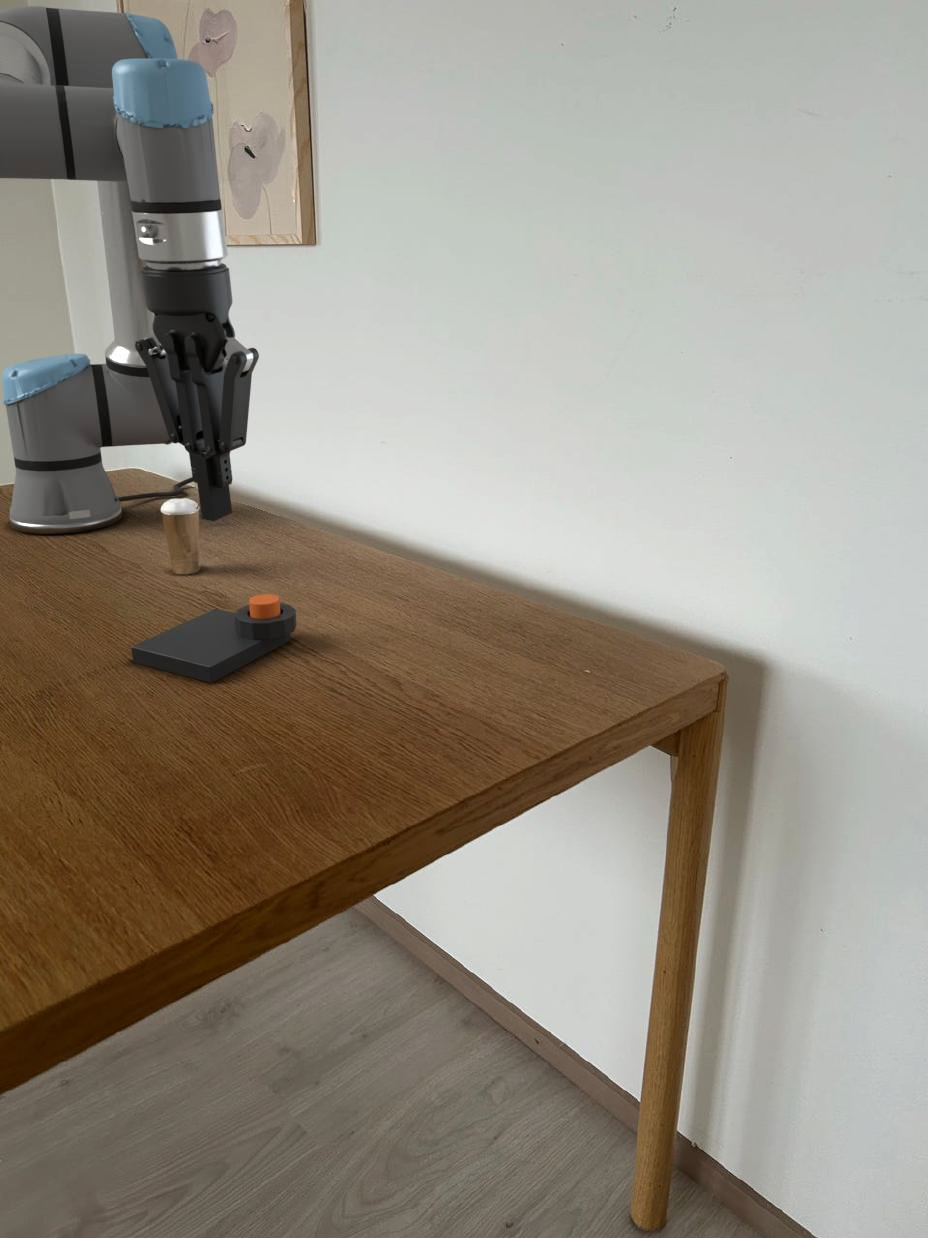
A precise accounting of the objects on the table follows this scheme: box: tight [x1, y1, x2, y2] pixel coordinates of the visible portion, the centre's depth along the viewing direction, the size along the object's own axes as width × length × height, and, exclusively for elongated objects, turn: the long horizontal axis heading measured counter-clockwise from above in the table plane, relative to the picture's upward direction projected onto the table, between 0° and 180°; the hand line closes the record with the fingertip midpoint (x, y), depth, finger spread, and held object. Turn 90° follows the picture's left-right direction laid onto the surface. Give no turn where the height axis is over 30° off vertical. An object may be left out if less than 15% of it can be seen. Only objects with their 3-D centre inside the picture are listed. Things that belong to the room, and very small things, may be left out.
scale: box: [130, 602, 298, 684], centre depth 95 cm, size 13×12×4 cm
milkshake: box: [160, 497, 201, 576], centre depth 117 cm, size 4×5×10 cm
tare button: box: [248, 593, 281, 619], centre depth 96 cm, size 3×3×2 cm
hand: (217, 515), depth 94 cm, fingers closed
